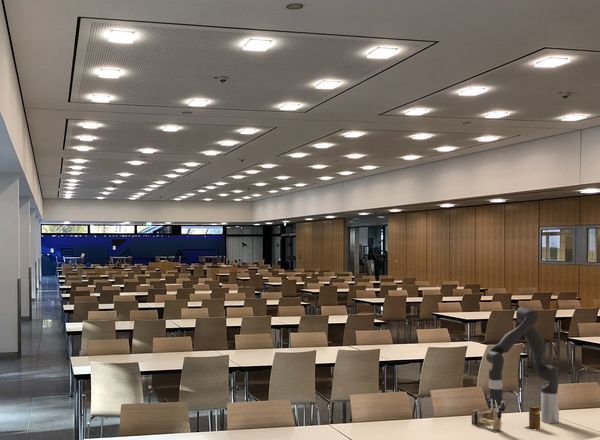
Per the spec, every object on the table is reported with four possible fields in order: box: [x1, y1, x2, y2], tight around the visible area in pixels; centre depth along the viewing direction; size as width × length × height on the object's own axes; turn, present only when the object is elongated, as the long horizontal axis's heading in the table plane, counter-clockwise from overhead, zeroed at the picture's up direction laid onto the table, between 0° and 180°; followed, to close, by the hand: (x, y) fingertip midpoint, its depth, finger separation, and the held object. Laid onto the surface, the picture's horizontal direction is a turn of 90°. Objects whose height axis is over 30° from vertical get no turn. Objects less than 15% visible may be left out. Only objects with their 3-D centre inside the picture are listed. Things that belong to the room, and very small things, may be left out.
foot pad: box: [487, 428, 503, 434], centre depth 356 cm, size 6×6×1 cm
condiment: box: [523, 405, 544, 431], centre depth 362 cm, size 7×8×12 cm
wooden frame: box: [477, 407, 502, 431], centre depth 362 cm, size 15×3×12 cm, turn 36°
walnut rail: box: [471, 409, 493, 426], centre depth 373 cm, size 18×2×8 cm, turn 118°
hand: (496, 417), depth 358 cm, fingers closed on wooden frame, 3 cm apart
